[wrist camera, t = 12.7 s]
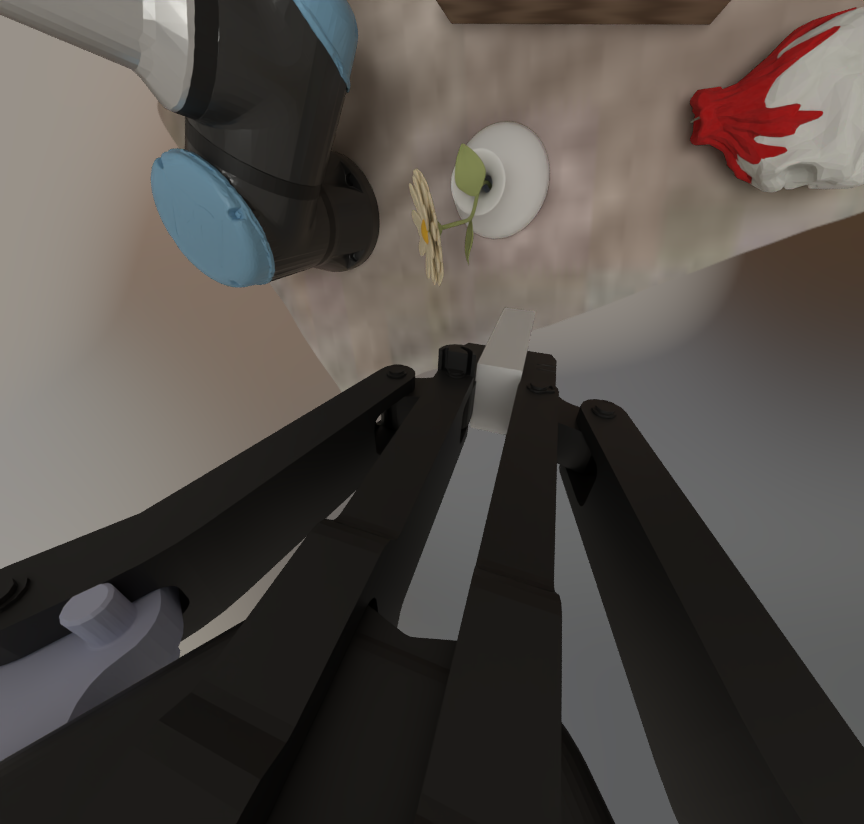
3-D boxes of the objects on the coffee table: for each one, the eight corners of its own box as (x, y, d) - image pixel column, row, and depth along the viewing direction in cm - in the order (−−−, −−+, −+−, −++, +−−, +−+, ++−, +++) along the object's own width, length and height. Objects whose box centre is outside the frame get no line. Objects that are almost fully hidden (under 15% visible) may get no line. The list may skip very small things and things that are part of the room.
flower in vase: (468, 115, 37) (361, 33, 18) (566, 133, 35) (568, 65, 16) (446, 239, 45) (355, 277, 26) (525, 260, 43) (493, 317, 24)
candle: (841, 187, 31) (658, 194, 37) (939, 8, 25) (700, 50, 30) (900, 189, 24) (666, 197, 30) (1055, -56, 18) (721, 14, 24)
